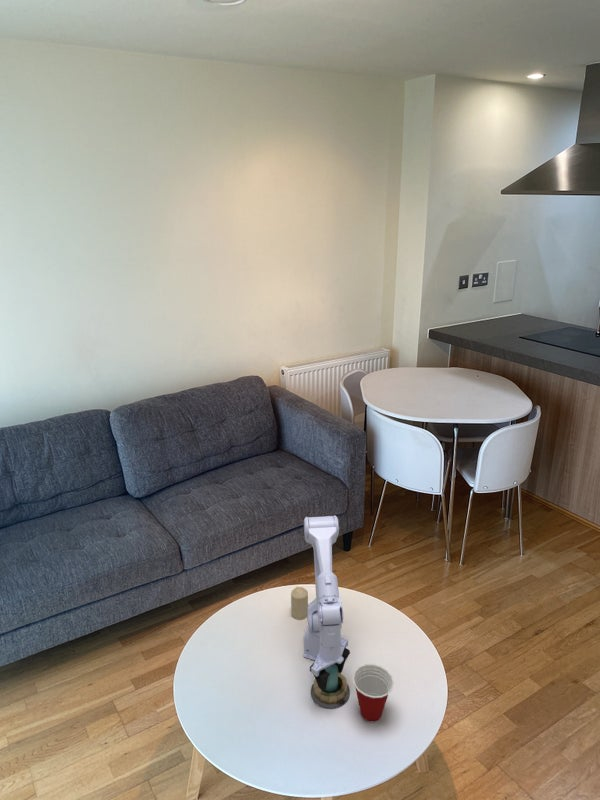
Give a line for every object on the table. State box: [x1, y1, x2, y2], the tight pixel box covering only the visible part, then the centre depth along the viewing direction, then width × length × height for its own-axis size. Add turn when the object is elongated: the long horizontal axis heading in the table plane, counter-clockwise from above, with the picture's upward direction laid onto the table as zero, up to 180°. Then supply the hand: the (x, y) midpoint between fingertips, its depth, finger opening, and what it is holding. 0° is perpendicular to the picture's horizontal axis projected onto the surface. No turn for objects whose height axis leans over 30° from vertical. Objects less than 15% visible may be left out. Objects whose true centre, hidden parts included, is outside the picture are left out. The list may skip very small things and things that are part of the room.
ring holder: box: [310, 672, 351, 710], centre depth 165 cm, size 11×11×3 cm
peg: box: [322, 664, 338, 693], centre depth 164 cm, size 4×4×8 cm
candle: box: [290, 586, 309, 621], centre depth 195 cm, size 6×6×10 cm
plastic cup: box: [352, 663, 395, 723], centre depth 157 cm, size 11×11×12 cm
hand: (330, 679), depth 164 cm, fingers open, 7 cm apart
